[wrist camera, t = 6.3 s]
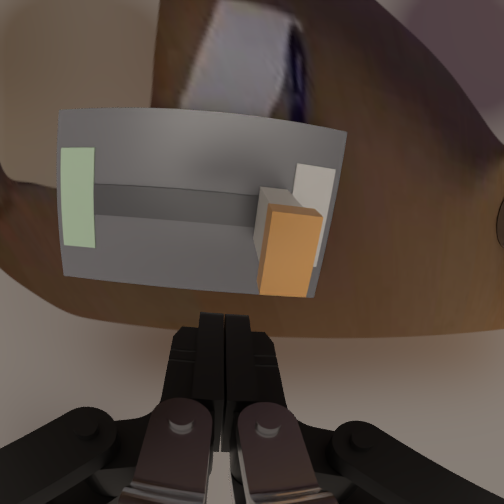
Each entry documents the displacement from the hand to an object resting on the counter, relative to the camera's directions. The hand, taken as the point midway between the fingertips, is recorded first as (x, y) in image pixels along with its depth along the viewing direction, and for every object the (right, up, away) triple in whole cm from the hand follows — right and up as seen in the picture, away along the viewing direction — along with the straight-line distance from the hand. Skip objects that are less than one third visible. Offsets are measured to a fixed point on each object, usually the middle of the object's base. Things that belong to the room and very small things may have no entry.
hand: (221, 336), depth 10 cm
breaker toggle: (+2, +5, +14) cm, 15 cm away
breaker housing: (-4, +8, +18) cm, 20 cm away
